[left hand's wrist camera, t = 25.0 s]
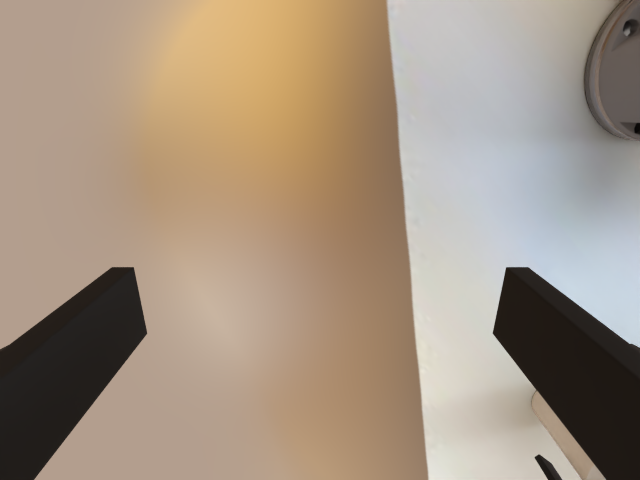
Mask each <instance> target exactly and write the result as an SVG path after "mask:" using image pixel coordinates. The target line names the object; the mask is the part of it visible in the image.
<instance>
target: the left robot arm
mask: <svg viewBox="0 0 640 480" xmlns="http://www.w3.org/2000/svg"><path fill="white" fill-rule="evenodd" d="M585 91H586V97H587V102H588V105H589V108H590V110H591V112H592V114H593V116H594V117H595V119H596V120H597V121H598V123H599V124H600V125H601V126H602V127H603V128H604V129H606V130H607V131H608V132H610V133H612V134H614V135H615V136H618V137H621V138H624V139H628V140H636V141H640V0H623V1H622V2H621V3H620V4H619V5H618V6H617V7H616V9H615V10H614V11H613V12H612V13H611V15H610V16H609V17H608V19H607V20H606V21H605V23H604V25H603V26H602V28H601V29H600V31H599V33H598V35H597V37H596V39H595V41H594V43H593V46H592V49H591V51H590V54H589V58H588V62H587V67H586V74H585ZM146 334H147V330H146V325H145V321H144V315H143V310H142V306H141V301H140V296H139V291H138V286H137V281H136V276H135V271H134V267H112V268H110V269H109V270H108V271H106V272H105V273H104V274H102V275H101V276H100V277H99V278H97V279H96V280H95V281H93V282H92V283H91V284H89V285H88V286H87V287H85V288H84V289H83V290H81V291H80V292H79V293H77V294H76V295H75V296H73V297H72V298H71V299H69V300H68V301H67V302H65V303H64V304H63V305H62V306H60V307H59V308H57V309H56V310H55V311H53V312H52V313H51V314H50V315H48V316H47V317H46V318H44V319H43V320H42V321H40V322H39V323H38V324H36V325H35V326H34V327H32V328H31V329H30V330H28V331H27V332H26V333H24V334H23V335H22V336H20V337H19V338H18V339H16V340H15V341H14V342H13V343H11V344H10V345H8V346H6V347H4V348H2V349H0V480H34V479H35V478H36V476H37V475H38V474H39V472H40V471H41V470H42V469H43V467H44V466H45V465H46V463H47V462H48V461H49V459H50V458H51V457H52V456H53V454H54V453H55V452H56V451H57V449H58V448H59V447H60V445H61V444H62V443H63V441H64V440H65V439H66V438H67V436H68V435H69V434H70V432H71V431H72V430H73V429H74V427H75V426H76V425H77V423H78V422H79V421H80V420H81V418H82V417H83V416H84V414H85V413H86V412H87V410H88V409H89V408H90V407H91V405H92V404H93V403H94V401H95V400H96V399H97V398H98V396H99V395H100V394H101V392H102V391H103V390H104V388H105V387H106V386H107V385H108V383H109V382H110V381H111V379H112V378H113V377H114V376H115V374H116V373H117V372H118V370H119V369H120V368H121V367H122V365H123V364H124V363H125V361H126V360H127V359H128V358H129V356H130V355H131V354H132V352H133V351H134V350H135V349H136V347H137V346H138V345H139V343H140V342H141V341H142V339H143V338H144V337H145V336H146ZM493 334H494V336H495V337H496V338H497V339H498V341H499V342H500V343H501V345H502V346H503V347H504V349H505V350H506V351H507V352H508V354H509V355H510V356H511V358H512V359H513V360H514V361H515V363H516V364H517V365H518V367H519V368H520V369H521V370H522V372H523V373H524V374H525V376H526V377H527V378H528V380H529V381H530V382H531V383H532V385H533V386H534V387H535V389H536V390H537V391H538V392H539V394H540V395H541V396H542V398H543V399H544V400H545V401H546V403H547V404H548V405H549V407H550V408H551V409H552V411H553V412H554V413H555V414H556V416H557V417H558V418H559V420H560V421H561V422H562V423H563V425H564V426H565V427H566V429H567V430H568V431H569V432H570V434H571V435H572V436H573V438H574V439H575V440H576V441H577V443H578V444H579V445H580V447H581V448H582V449H583V451H584V452H585V453H586V454H587V456H588V457H589V458H590V460H591V461H592V462H593V463H594V465H595V466H596V467H597V469H598V470H599V471H600V472H601V474H602V475H603V476H604V478H605V479H606V480H640V348H639V347H637V346H635V345H633V344H629V343H628V342H626V341H625V340H624V339H622V338H621V337H620V336H618V335H617V334H616V333H614V332H613V331H612V330H610V329H609V328H608V327H606V326H605V325H604V324H602V323H601V322H600V321H598V320H597V319H596V318H594V317H593V316H592V315H590V314H589V313H588V312H587V311H585V310H584V309H583V308H581V307H580V306H579V305H577V304H576V303H575V302H573V301H572V300H571V299H569V298H568V297H567V296H565V295H564V294H563V293H561V292H560V291H559V290H557V289H556V288H555V287H553V286H552V285H551V284H549V283H548V282H547V281H545V280H544V279H543V278H541V277H540V276H539V275H538V274H536V273H535V272H534V271H532V270H531V269H530V268H528V267H506V271H505V276H504V281H503V286H502V291H501V296H500V301H499V306H498V310H497V315H496V320H495V325H494V330H493Z"/></svg>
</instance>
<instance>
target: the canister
mask: <svg viewBox="0 0 640 480" xmlns="http://www.w3.org/2000/svg"><path fill="white" fill-rule="evenodd" d="M532 409H533V411H534V413H535V414H536V415H537V417H538V418H539V420H540V421H541V422H542V424H543V425H544V427H545V428H546V429H547V431H548V432H549V434H550V435H551V436H552V438H553V439H554V441H555V442H556V444H557V445H558V446H559V448H560V449H561V451H562V452H563V453H564V455H565V456H566V458H567V459H568V460H569V462H570V463H571V465H572V466H573V467H574V469H575V470H576V472H577V473H578V475H579V476H580V477H581V479H582V480H606V479H605V478H604V476H603V475H602V474H601V472H600V471H599V470H598V469H597V467H596V466H595V465H594V463H593V462H592V461H591V460H590V458H589V457H588V456H587V454H586V453H585V452H584V451H583V449H582V448H581V447H580V445H579V444H578V443H577V441H576V440H575V439H574V438H573V436H572V435H571V434H570V432H569V431H568V430H567V429H566V427H565V426H564V425H563V423H562V422H561V421H560V420H559V418H558V417H557V416H556V414H555V413H554V412H553V411H552V409H551V408H550V407H549V405H548V404H547V403H546V401H545V400H544V399H543V398H542V396H541V395H540V394H539V392H538V391H536V392H535V394H534V396H533V398H532Z"/></svg>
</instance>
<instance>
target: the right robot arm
mask: <svg viewBox="0 0 640 480" xmlns="http://www.w3.org/2000/svg"><path fill="white" fill-rule="evenodd" d="M535 459H536V461H537V462H538V464H539V466H540V467H541V469H542V470H543V472H544V474H545V475H546V477H547V478H548V480H562V479H561V477H560V476H559V474H558V473H557V471H556V470H555V468H554V467H553V465H552V464H551V463H550V462H549V461H547V460H546V459H545V458H543V457H542V456H541V455H537V456H536V457H535Z"/></svg>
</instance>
